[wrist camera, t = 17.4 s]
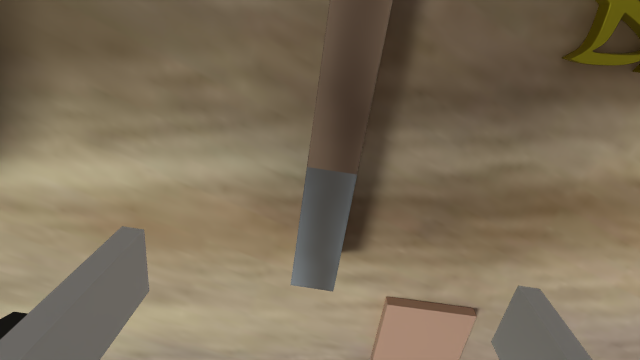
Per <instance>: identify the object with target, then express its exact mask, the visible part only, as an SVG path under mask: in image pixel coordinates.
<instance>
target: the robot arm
mask: <svg viewBox="0 0 640 360" xmlns="http://www.w3.org/2000/svg"><path fill="white" fill-rule="evenodd" d="M148 292H149V283H148V271H147V259H146V246H145V234H144V230H143V229H136V228H130V227H123V226H122V227H121V228H120V229H119V230H118V231H117V232H116V233H114V234H113V235H112V236H111V237H110V238H109V239H108V240H107V241H106V242H105V243H104V244H103V245H102V246H101V247H99V248H98V249H97V250H96V251H95V252H94V253H93V254H92V255H91V256H90V257H89V258H88V259H87V260H85V261H84V262H83V263H82V264H81V265H80V266H79V267H78V268H77V269H76V270H75V271H74V272H73V273H71V274H70V275H69V276H68V277H67V278H66V279H65V280H64V281H63V282H62V283H61V284H60V285H59V286H57V287H56V288H55V289H54V290H53V291H52V292H51V293H50V294H49V295H48V296H47V297H46V298H45V299H43V300H42V301H41V302H40V303H39V304H38V305H37V306H36V307H35V308H34V309H33V310H32V311H31V312H30V313H28V314H26V313H19V312H12V313H11V314H9V315H7V316H5V317H3V318H2V319H0V360H100V359H101V357H102V356H103V355H104V353H105V352H106V350H107V349H108V348H109V346H110V345H111V343H112V342H113V341H114V339H115V338H116V336H117V335H118V334H119V332H120V331H121V330H122V328H123V327H124V325H125V324H126V323H127V321H128V320H129V318H130V317H131V316H132V314H133V313H134V311H135V310H136V309H137V307H138V306H139V304H140V303H141V302H142V300H143V299H144V297H145V296H146V295H147V293H148ZM491 342H492V345H493V347H494V349H495V351H496V353H497V355H498V357H499V360H592V359H591V357H590V356H589V355H588V353H587V352H586V351H585V349H584V348H583V346H582V345H581V344H580V342H579V341H578V340H577V338H576V337H575V336H574V334H573V333H572V332H571V330H570V329H569V328H568V326H567V325H566V324H565V322H564V321H563V319H562V318H561V317H560V315H559V314H558V313H557V311H556V310H555V309H554V307H553V306H552V305H551V303H550V302H549V301H548V299H547V298H546V297H545V295H544V294H543V292H542V291H541V290H540V289H538V288H531V287H524V286H518V287H517V289H516V291H515V293H514V295H513V297H512V299H511V301H510V304H509V306H508V308H507V310H506V312H505V314H504V316H503V318H502V320H501V322H500V325H499V327H498V329H497V331H496V333H495V335H494V337H493V339H492V341H491Z"/></svg>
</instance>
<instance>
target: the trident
mask: <svg viewBox="0 0 640 360" xmlns="http://www.w3.org/2000/svg"><path fill="white" fill-rule="evenodd" d="M595 1H596V2H597V3H598V4H599V7H598V10H597V13H596V16H595V19H594V21H593V24H592V27H591V29H590V31H589V33H588V35H587V37H586V39H585V41H584V42H583V44H582V45H581V46H580V47H579V48H578V49H576V50H575V51H573V52H572V53H570V54H568V55H566V56H564V57H562V58H563V59H566V60H569V61H572V62H577V63H583V64H591V65H626V64H631V63H635V62H638V61H640V50H638V51H635V52H631V53H597V52H593V50H594V49H596V48H598V47H600V46H601V45H603V44H604V43H605V42H606V41H607V40H608V39H609V38H610V36H611V35H612V33H613V32H614V30H615V29H616V27H617V25H618V23H619V22H620V20H621V19H622V20H623V21H624V22H625V23H626V24H627V25H628V26H629V27H630V28H631V29H632V30H633V31H634V32H635V33H636V35H637V36H638V37H639V39H640V1H639V0H595ZM633 72H639V73H640V64H639V65H638V66H637V67H636V68H635V69H634V70H633Z"/></svg>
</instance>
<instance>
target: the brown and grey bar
mask: <svg viewBox="0 0 640 360" xmlns="http://www.w3.org/2000/svg"><path fill="white" fill-rule="evenodd" d="M392 2H393V0H330V4H329V12H328V19H327V26H326V33H325V41H324V48H323V55H322V62H321V69H320V77H319V84H318V91H317V98H316V106H315V113H314V120H313V127H312V135H311V142H310V149H309V156H308V164H307V171H306V178H305V185H304V193H303V200H302V207H301V214H300V222H299V229H298V236H297V243H296V251H295V258H294V265H293V272H292V279H291V285H294V286H301V287H308V288H314V289H321V290H327V291H333V290H334V285H335V280H336V275H337V271H338V266H339V261H340V256H341V251H342V246H343V241H344V236H345V231H346V227H347V222H348V217H349V212H350V207H351V202H352V197H353V192H354V187H355V183H356V178H357V173H358V168H359V163H360V158H361V153H362V148H363V143H364V139H365V134H366V129H367V124H368V119H369V114H370V109H371V104H372V99H373V95H374V90H375V85H376V80H377V75H378V70H379V65H380V60H381V55H382V51H383V46H384V41H385V36H386V31H387V26H388V21H389V16H390V11H391V7H392Z"/></svg>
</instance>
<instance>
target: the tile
mask: <svg viewBox="0 0 640 360" xmlns="http://www.w3.org/2000/svg"><path fill="white" fill-rule="evenodd" d="M476 317H477V316H476V314H475V312H474V310H473V308H468V307H461V306H453V305H446V304H438V303H431V302H423V301H416V300H408V299H401V298H393V297H386V299H385V303H384V307H383V311H382V315H381V319H380V323H379V327H378V330H377V334H376V338H375V342H374V346H373V350H372V354H371V360H459V358H460V356H461V353H462V351H463V349H464V346H465V344H466V341H467V339H468V336H469V334H470V332H471V329H472V327H473V324H474V322H475V319H476Z"/></svg>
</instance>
